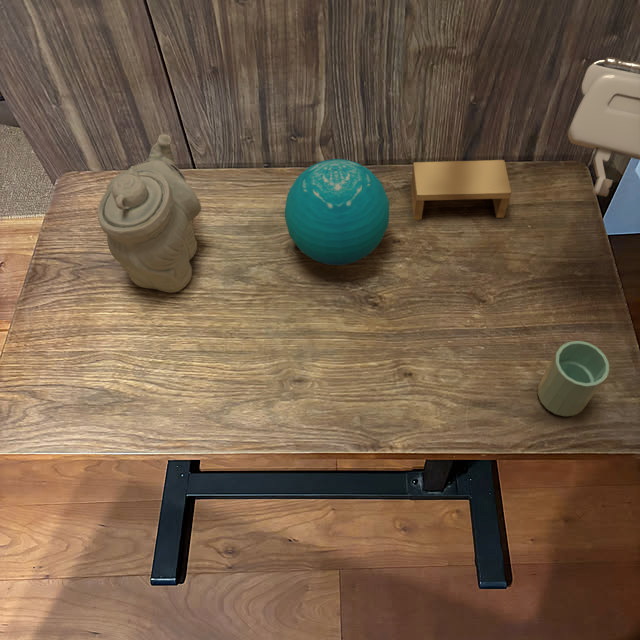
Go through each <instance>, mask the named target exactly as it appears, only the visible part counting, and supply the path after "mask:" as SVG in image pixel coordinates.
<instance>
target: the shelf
mask: <svg viewBox="0 0 640 640" xmlns="http://www.w3.org/2000/svg"><path fill="white" fill-rule="evenodd" d="M412 163H413V164H412V172H411V180H410V196H411V204H412V205H411V206H412V214H413V220H414V221H421V220H422V218H423V212H424V206H425V201H455V200H457V201H458V200H460V201H461V200H492V203H493V207H494V213H495V218H496V219H504V218H505V215H506V212H507V210H508V209H507V208H508V205H509V202H510V199H511V196H512V188H511V183H510V180H509V175H508V171H507V167H506V162H505V159H493V160H455V161H453V160H451V161H449V160H448V161H418V162H417V161H416V162H415V161H414V162H412Z"/></svg>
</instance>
